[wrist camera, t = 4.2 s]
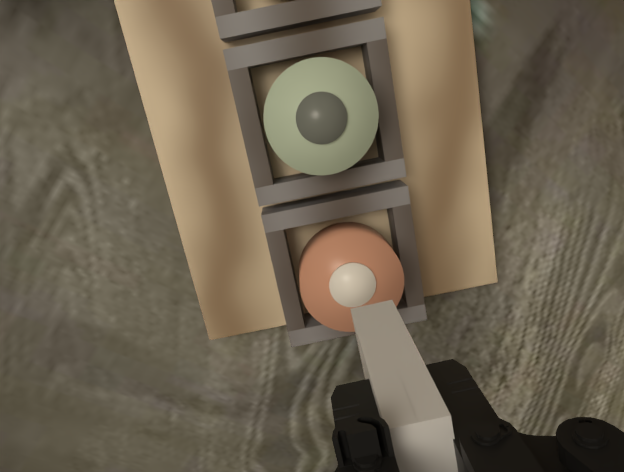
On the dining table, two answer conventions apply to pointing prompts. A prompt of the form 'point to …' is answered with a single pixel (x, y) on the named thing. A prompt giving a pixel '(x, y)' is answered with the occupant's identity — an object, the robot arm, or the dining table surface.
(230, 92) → the panel
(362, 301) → the terracotta button
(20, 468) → the dining table surface
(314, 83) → the sage button
